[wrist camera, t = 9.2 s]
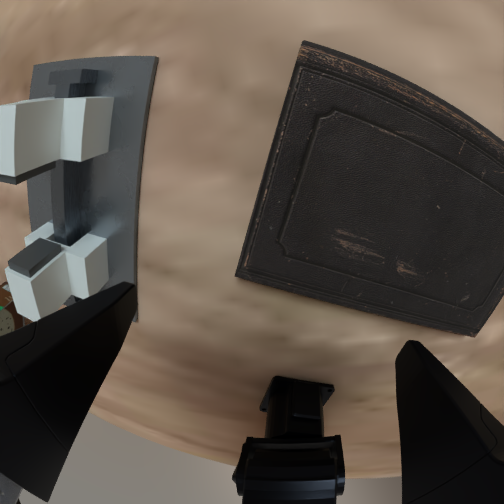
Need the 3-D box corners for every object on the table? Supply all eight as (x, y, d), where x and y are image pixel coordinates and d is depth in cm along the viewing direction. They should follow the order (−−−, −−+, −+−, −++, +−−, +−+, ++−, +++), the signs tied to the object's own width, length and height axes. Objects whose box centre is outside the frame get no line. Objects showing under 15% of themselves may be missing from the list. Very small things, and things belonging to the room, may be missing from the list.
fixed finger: (107, 160, 18) (35, 191, 12) (44, 152, 19) (-24, 178, 12) (114, 97, 16) (37, 102, 10) (48, 97, 16) (-25, 109, 10)
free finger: (108, 279, 23) (61, 335, 17) (52, 260, 23) (3, 304, 17) (106, 231, 21) (48, 282, 15) (47, 215, 21) (-11, 255, 15)
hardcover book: (465, 322, 23) (474, 338, 21) (239, 260, 22) (234, 276, 20) (539, 177, 15) (555, 185, 13) (301, 45, 15) (303, 36, 13)
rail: (137, 318, 26) (126, 336, 23) (44, 283, 26) (30, 296, 24) (158, 57, 15) (141, 51, 13) (38, 65, 15) (17, 65, 13)
